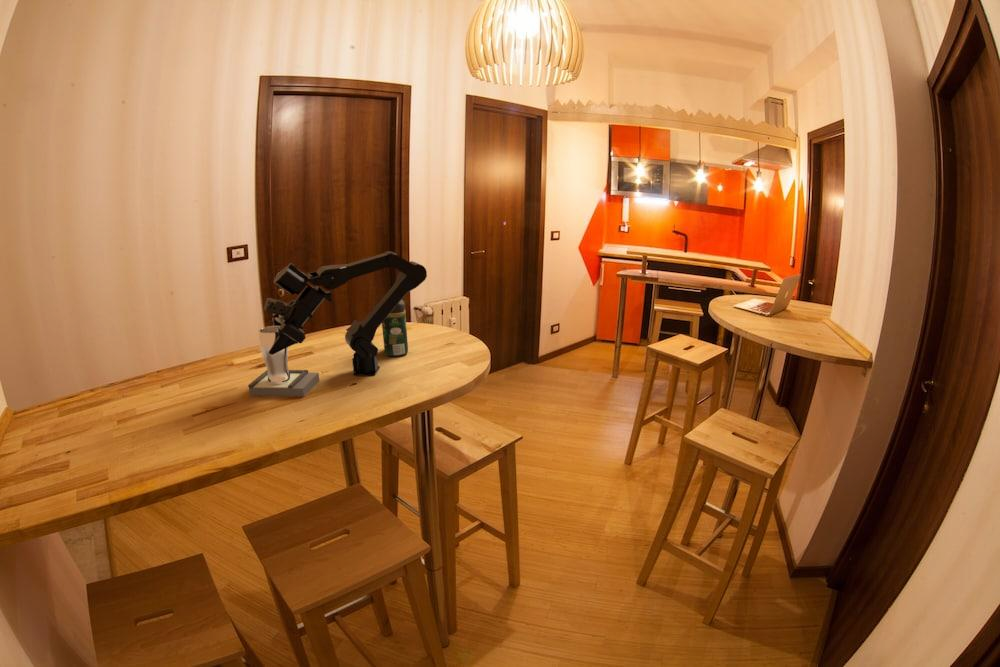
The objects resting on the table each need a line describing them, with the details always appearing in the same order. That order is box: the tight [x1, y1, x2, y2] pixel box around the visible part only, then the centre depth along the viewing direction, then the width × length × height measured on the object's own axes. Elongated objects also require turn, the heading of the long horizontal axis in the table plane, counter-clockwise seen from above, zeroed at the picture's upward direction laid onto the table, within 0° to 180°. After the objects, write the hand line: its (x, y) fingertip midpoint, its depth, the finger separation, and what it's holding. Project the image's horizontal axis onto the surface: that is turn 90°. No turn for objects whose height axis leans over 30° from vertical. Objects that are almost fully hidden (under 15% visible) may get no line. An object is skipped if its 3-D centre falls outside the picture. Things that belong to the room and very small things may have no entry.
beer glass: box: [258, 325, 291, 385], centre depth 138 cm, size 7×7×15 cm
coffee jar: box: [381, 298, 409, 357], centre depth 166 cm, size 10×8×19 cm
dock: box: [247, 369, 320, 398], centre depth 142 cm, size 15×11×3 cm
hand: (268, 349), depth 137 cm, fingers open, 7 cm apart
